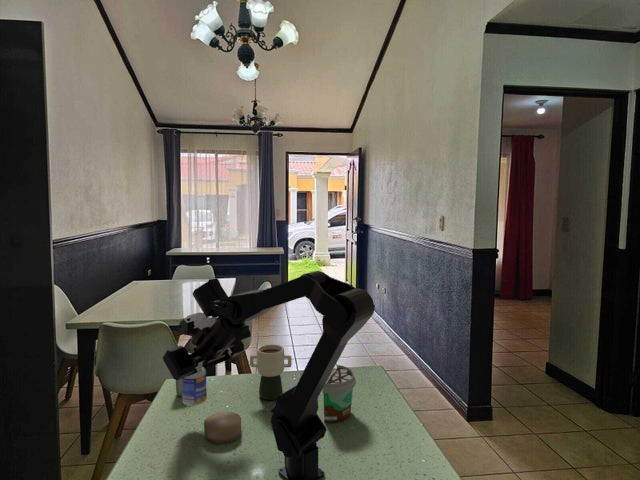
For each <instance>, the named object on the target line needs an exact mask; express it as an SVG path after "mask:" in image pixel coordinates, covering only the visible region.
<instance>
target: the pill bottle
mask: <svg viewBox="0 0 640 480" xmlns="http://www.w3.org/2000/svg"><path fill="white" fill-rule="evenodd" d="M202 365H203V362H201V363H198V366H197V367H196V370H197V373H195V374H193V375H190V376H188V377H184V378H182V396H181V399H182V403H183V404H184V406H187V407H190V406H191V407H193V406H194V407H195V406H198V405H199V406H200V405H201V404H203V403H206V401H207V396H208V394H207V393H208V392H207V391H208V389H207V370H206V369H207V368H204V367H202Z"/></svg>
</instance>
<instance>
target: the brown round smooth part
mask: <svg viewBox="0 0 640 480" xmlns="http://www.w3.org/2000/svg"><path fill="white" fill-rule="evenodd" d="M203 431H204V432H203V437H204V439H205V441H206V442H207V443H210V444H213V445H226V444H229V443H233V442H234V441H237V440H238V438H240V436H241V435H242V418H241V415H239V413H237V412H234V411H220V412H215V413H212V414H211V415H208V417H206V418H205V420H204V422H203Z"/></svg>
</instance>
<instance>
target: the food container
mask: <svg viewBox="0 0 640 480" xmlns="http://www.w3.org/2000/svg"><path fill="white" fill-rule="evenodd" d="M356 380H357V379H356V376H355V374H354V372H353V370H352V369H351V368H350V367H347V366H344V365H340V364H336V369H335V371H334V372H333V373H331V374H330V376H329V378H328V380H327V382H326V383H325V385H324V387H323V389H322V391H321V393H323V423H324V424H325V423H327V424H337V423H339V424H340V423H342V422H344V421H347V420H348V419H350V417H351V411H352V399H353V391H354V390H353V389H354V388H355V386H356V384H357V381H356Z"/></svg>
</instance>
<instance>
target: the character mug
mask: <svg viewBox="0 0 640 480" xmlns="http://www.w3.org/2000/svg"><path fill="white" fill-rule="evenodd" d="M255 359H256V363H254V361H255ZM285 359H287V363H285ZM292 361H293V359H292V356H291V355H288V354H285V348H284V346H283V345H280V344H276V343H275V344H274V343H268V344H264V345H261V346H258V348H257V349H256V354H251V355H249V366H250V367H251V368H257V369H256V370H257V374H259V375H260V380H259V381H260V382H259V387H258V388H259V390H258V395H259V397H261V398H262V399H265V400H270V401H271V400H272V401H273V400H275V399H276V400H277V398H278V396H279V395H281V394H283V393H284V389H283V383H282V378H281V375H282V374H283V372H284V370H285V368H291V367H292Z"/></svg>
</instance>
